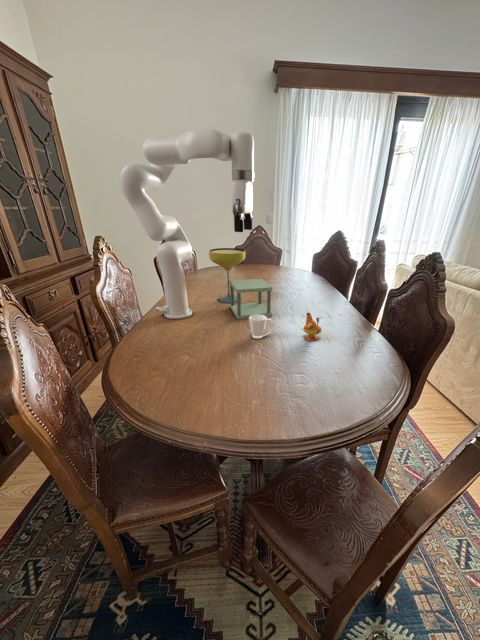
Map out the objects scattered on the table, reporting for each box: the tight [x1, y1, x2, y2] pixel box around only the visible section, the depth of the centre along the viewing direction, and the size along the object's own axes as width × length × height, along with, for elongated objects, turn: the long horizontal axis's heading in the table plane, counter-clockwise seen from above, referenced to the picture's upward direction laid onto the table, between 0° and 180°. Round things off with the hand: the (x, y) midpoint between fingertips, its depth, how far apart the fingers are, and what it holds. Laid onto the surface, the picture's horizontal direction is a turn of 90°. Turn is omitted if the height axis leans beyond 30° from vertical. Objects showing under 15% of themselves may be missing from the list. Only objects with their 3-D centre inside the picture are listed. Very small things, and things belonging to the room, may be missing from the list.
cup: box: [248, 314, 275, 340], centre depth 111 cm, size 7×10×8 cm
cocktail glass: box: [208, 247, 246, 304], centre depth 147 cm, size 18×18×25 cm
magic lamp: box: [303, 312, 323, 342], centre depth 111 cm, size 7×18×11 cm, turn 3°
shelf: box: [229, 278, 273, 320], centre depth 134 cm, size 16×16×14 cm
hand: (243, 230), depth 107 cm, fingers open, 9 cm apart
